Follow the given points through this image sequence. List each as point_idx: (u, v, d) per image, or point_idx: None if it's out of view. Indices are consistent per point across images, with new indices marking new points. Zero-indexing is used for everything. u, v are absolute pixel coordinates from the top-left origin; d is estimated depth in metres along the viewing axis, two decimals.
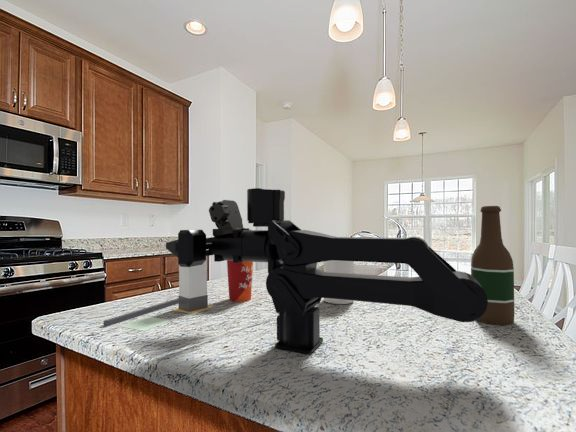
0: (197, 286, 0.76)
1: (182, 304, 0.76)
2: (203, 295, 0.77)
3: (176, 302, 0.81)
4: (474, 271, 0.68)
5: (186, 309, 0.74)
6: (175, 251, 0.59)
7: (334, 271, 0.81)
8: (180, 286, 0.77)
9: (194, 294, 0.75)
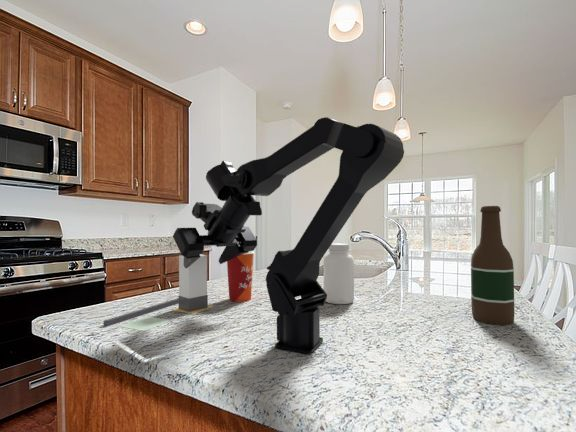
0: (197, 286, 0.76)
1: (182, 304, 0.76)
2: (203, 295, 0.77)
3: (176, 302, 0.81)
4: (474, 271, 0.68)
5: (186, 309, 0.74)
6: (187, 260, 0.68)
7: (334, 271, 0.81)
8: (180, 286, 0.77)
9: (194, 294, 0.75)
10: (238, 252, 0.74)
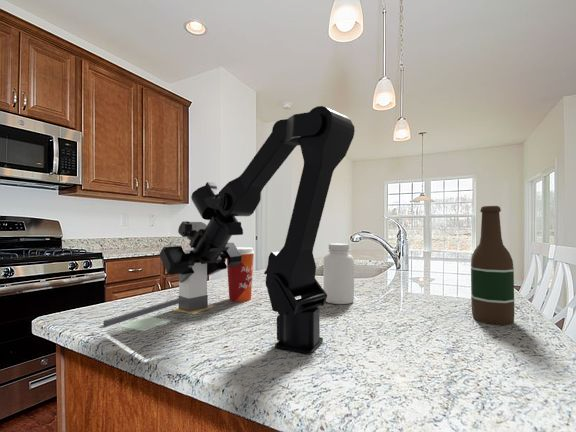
0: (197, 286, 0.76)
1: (182, 304, 0.76)
2: (203, 295, 0.77)
3: (176, 302, 0.81)
4: (474, 271, 0.68)
5: (186, 309, 0.74)
6: (182, 275, 0.73)
7: (334, 271, 0.81)
8: (180, 286, 0.77)
9: (194, 294, 0.75)
10: (216, 269, 0.76)
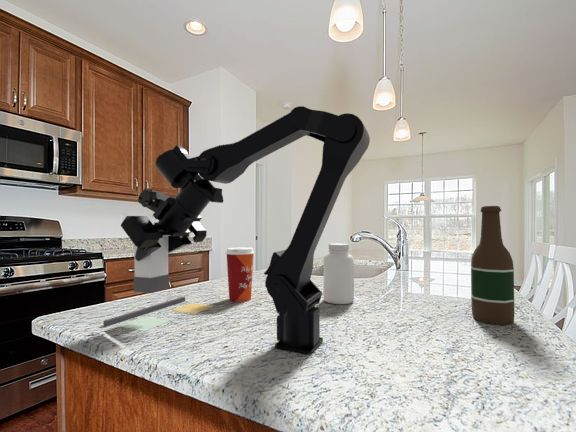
0: (159, 264, 0.66)
1: (139, 285, 0.65)
2: (164, 274, 0.68)
3: (176, 302, 0.81)
4: (474, 271, 0.68)
5: (147, 290, 0.65)
6: (143, 251, 0.63)
7: (334, 271, 0.81)
8: (136, 265, 0.66)
9: (156, 273, 0.66)
10: (181, 244, 0.68)
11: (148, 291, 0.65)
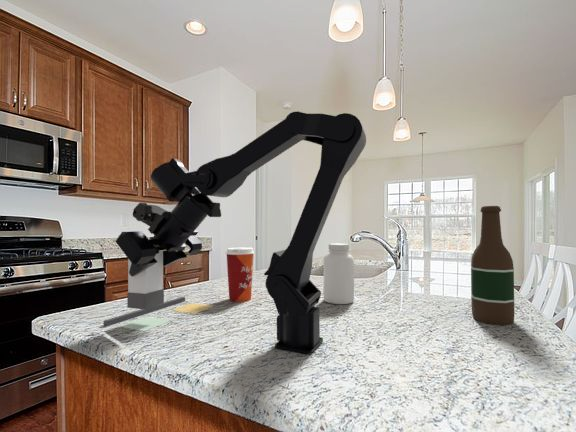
0: (154, 279, 0.65)
1: (134, 301, 0.64)
2: (159, 289, 0.66)
3: (176, 302, 0.81)
4: (474, 271, 0.68)
5: (141, 307, 0.63)
6: (138, 267, 0.62)
7: (334, 271, 0.81)
8: (130, 281, 0.64)
9: (151, 288, 0.64)
10: (176, 258, 0.67)
11: (143, 307, 0.63)
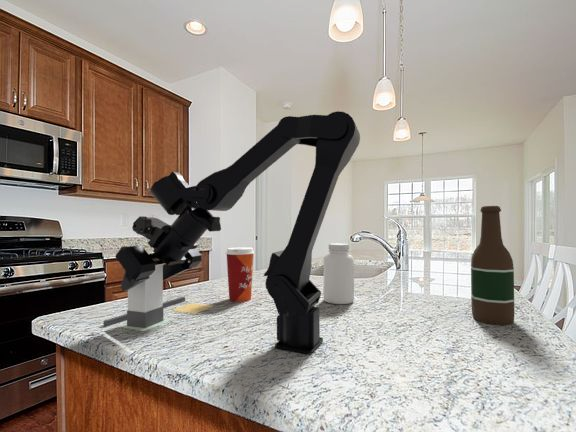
0: (153, 297, 0.65)
1: (133, 320, 0.64)
2: (159, 307, 0.66)
3: (176, 302, 0.81)
4: (474, 271, 0.68)
5: (141, 325, 0.63)
6: (130, 282, 0.60)
7: (334, 271, 0.81)
8: (130, 299, 0.64)
9: (150, 306, 0.64)
10: (182, 269, 0.69)
11: (142, 326, 0.63)
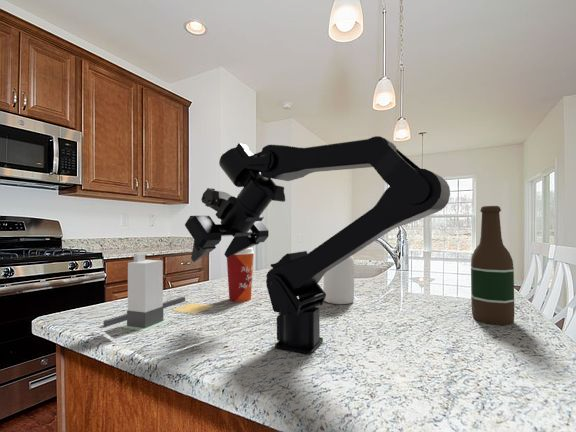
0: (153, 297, 0.65)
1: (133, 320, 0.64)
2: (159, 307, 0.66)
3: (176, 302, 0.81)
4: (474, 271, 0.68)
5: (141, 325, 0.63)
6: (198, 252, 0.61)
7: (334, 271, 0.81)
8: (130, 299, 0.64)
9: (150, 306, 0.64)
10: (249, 243, 0.68)
11: (142, 326, 0.63)
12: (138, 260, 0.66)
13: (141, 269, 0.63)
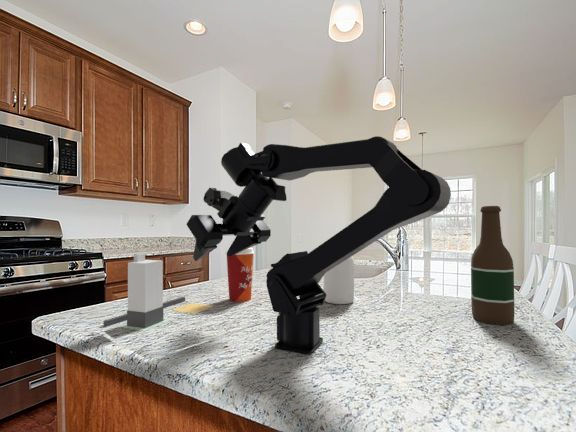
0: (153, 297, 0.65)
1: (133, 320, 0.64)
2: (159, 307, 0.66)
3: (176, 302, 0.81)
4: (474, 271, 0.68)
5: (141, 325, 0.63)
6: (200, 251, 0.61)
7: (334, 271, 0.81)
8: (130, 299, 0.64)
9: (150, 306, 0.64)
10: (251, 243, 0.69)
11: (142, 326, 0.63)
12: (138, 260, 0.66)
13: (141, 269, 0.63)
